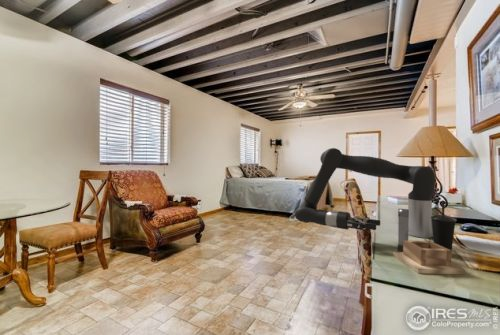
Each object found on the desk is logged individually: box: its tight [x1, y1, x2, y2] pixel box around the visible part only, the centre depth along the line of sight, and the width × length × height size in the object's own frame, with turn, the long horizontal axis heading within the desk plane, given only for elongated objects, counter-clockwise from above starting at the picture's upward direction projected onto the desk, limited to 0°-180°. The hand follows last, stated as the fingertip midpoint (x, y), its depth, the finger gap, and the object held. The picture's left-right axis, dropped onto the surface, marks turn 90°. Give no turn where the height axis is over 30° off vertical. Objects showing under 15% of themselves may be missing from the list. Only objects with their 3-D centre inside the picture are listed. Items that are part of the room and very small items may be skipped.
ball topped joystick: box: [397, 208, 409, 252], centre depth 91 cm, size 4×3×17 cm
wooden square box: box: [392, 240, 466, 275], centre depth 80 cm, size 14×14×6 cm
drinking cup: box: [430, 200, 457, 253], centre depth 89 cm, size 8×8×20 cm
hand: (378, 225), depth 96 cm, fingers open, 8 cm apart
